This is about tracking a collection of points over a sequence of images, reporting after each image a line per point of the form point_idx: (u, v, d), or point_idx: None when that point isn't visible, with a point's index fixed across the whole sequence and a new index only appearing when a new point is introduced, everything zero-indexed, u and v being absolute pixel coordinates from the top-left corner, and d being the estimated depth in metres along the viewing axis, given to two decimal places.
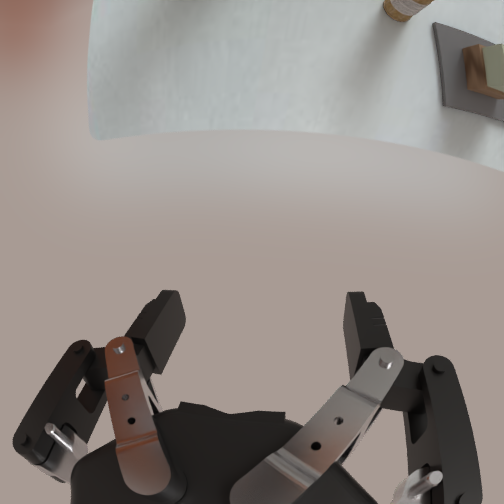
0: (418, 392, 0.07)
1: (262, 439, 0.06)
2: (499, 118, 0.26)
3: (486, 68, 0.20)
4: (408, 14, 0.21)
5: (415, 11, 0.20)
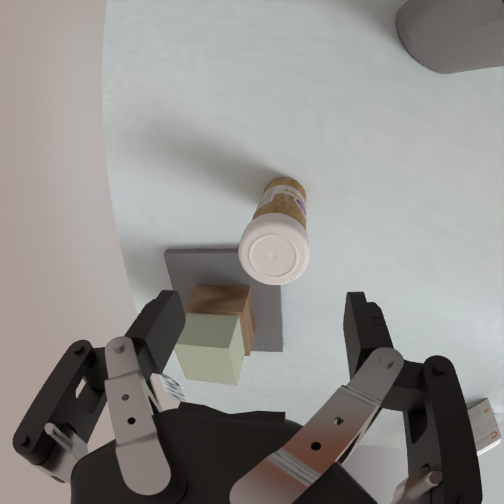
0: (418, 392, 0.07)
1: (262, 439, 0.06)
2: None
3: (209, 316, 0.30)
4: None
5: None
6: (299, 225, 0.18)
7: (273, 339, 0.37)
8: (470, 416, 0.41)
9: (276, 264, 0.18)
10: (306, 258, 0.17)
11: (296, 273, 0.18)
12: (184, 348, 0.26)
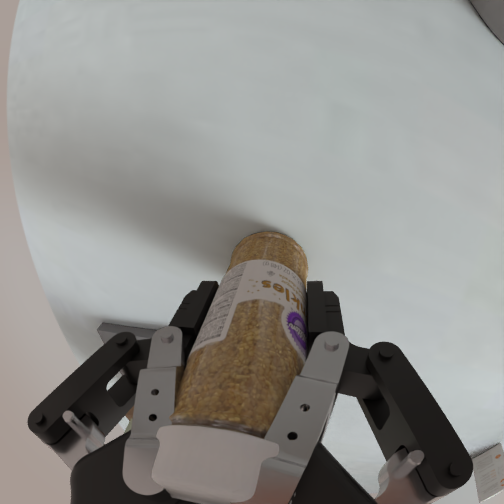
0: (364, 377, 0.08)
1: None
2: None
3: None
4: None
5: None
6: None
7: None
8: (480, 462, 0.29)
9: None
10: None
11: None
12: None
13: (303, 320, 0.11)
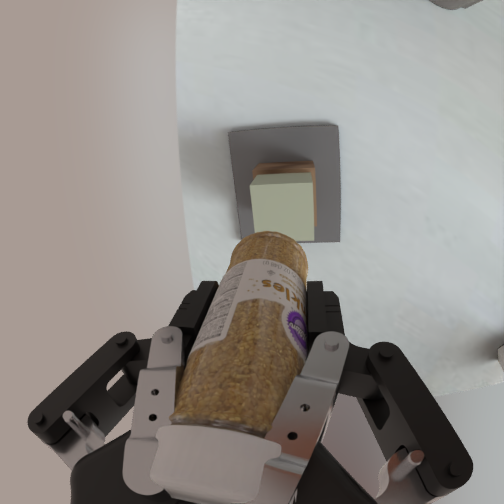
0: (364, 377, 0.08)
1: None
2: (240, 217, 0.39)
3: (281, 174, 0.30)
4: None
5: None
6: None
7: (331, 225, 0.37)
8: None
9: None
10: None
11: None
12: (264, 190, 0.26)
13: (303, 319, 0.11)
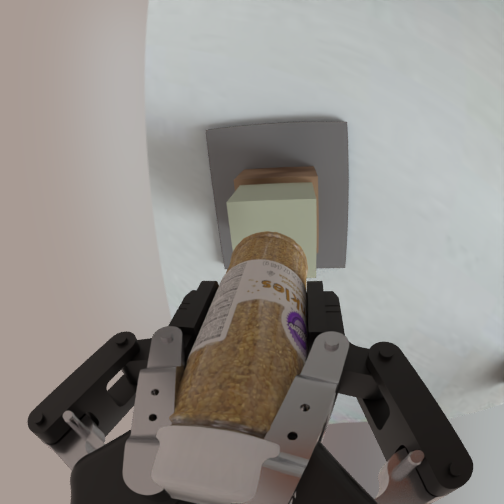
0: (364, 377, 0.08)
1: None
2: (221, 236, 0.31)
3: (272, 184, 0.22)
4: None
5: None
6: None
7: (335, 247, 0.30)
8: None
9: None
10: None
11: None
12: (246, 209, 0.19)
13: (303, 320, 0.11)
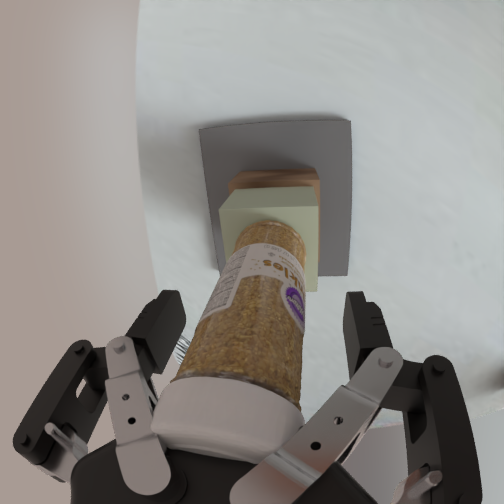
0: (417, 392, 0.07)
1: None
2: (216, 242, 0.29)
3: (270, 188, 0.21)
4: None
5: None
6: (282, 413, 0.06)
7: (337, 255, 0.28)
8: None
9: None
10: None
11: None
12: (241, 217, 0.17)
13: (300, 296, 0.12)
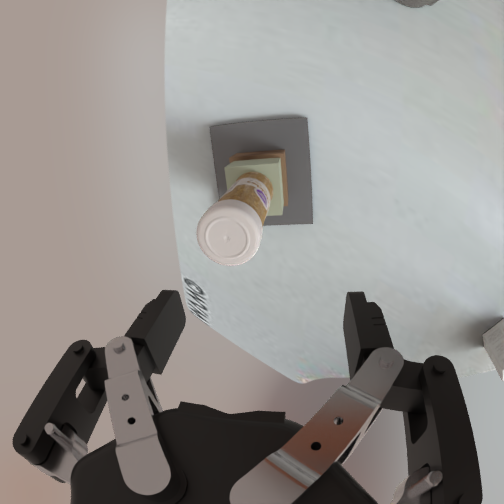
0: (418, 392, 0.07)
1: (262, 439, 0.06)
2: None
3: (254, 159, 0.34)
4: None
5: None
6: (251, 209, 0.19)
7: (304, 208, 0.41)
8: (491, 336, 0.46)
9: (230, 245, 0.19)
10: (257, 239, 0.19)
11: (248, 253, 0.19)
12: (236, 171, 0.30)
13: (265, 196, 0.25)
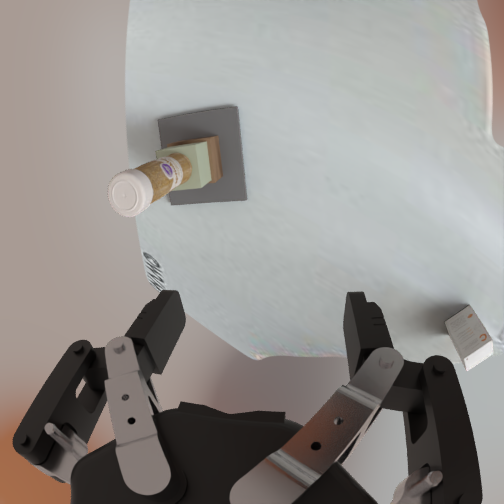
0: (418, 392, 0.07)
1: (262, 439, 0.06)
2: None
3: (185, 144, 0.39)
4: None
5: None
6: (142, 174, 0.24)
7: (237, 186, 0.46)
8: (454, 323, 0.51)
9: (127, 201, 0.24)
10: (142, 195, 0.24)
11: (138, 206, 0.24)
12: (164, 153, 0.35)
13: (171, 169, 0.30)
